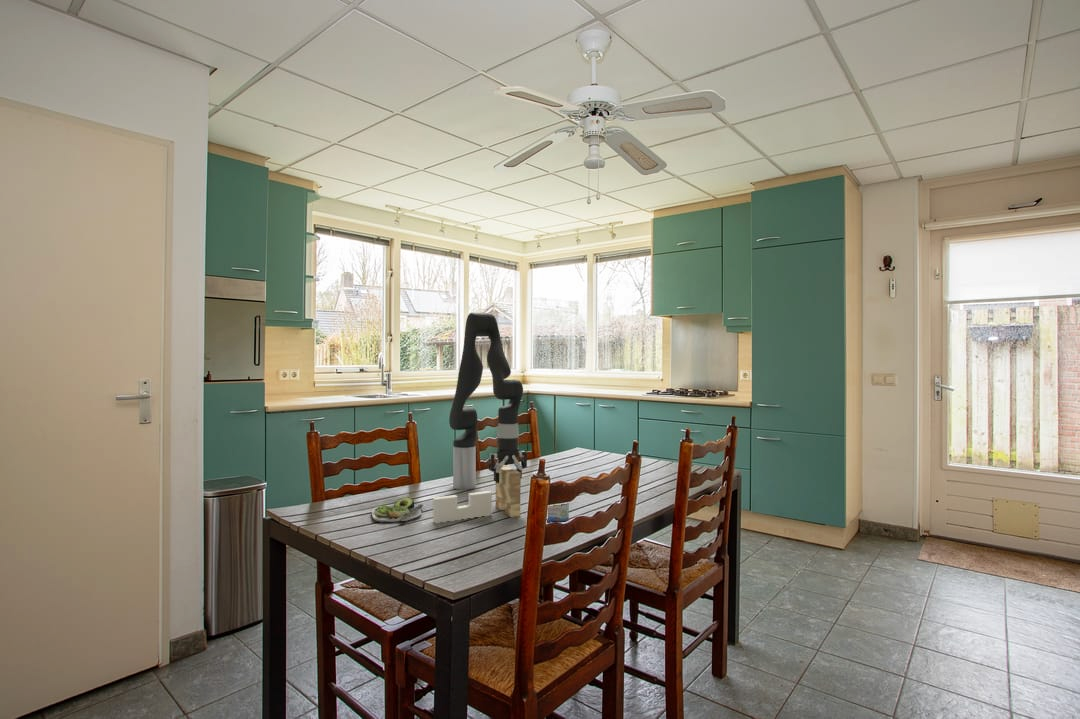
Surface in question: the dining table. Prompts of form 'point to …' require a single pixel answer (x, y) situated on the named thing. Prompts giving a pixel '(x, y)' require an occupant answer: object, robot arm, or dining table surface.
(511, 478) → the tan thick flat block
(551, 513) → the medicine box
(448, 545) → the dining table surface
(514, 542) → the dining table surface
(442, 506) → the slotted board
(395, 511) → the salad plate
